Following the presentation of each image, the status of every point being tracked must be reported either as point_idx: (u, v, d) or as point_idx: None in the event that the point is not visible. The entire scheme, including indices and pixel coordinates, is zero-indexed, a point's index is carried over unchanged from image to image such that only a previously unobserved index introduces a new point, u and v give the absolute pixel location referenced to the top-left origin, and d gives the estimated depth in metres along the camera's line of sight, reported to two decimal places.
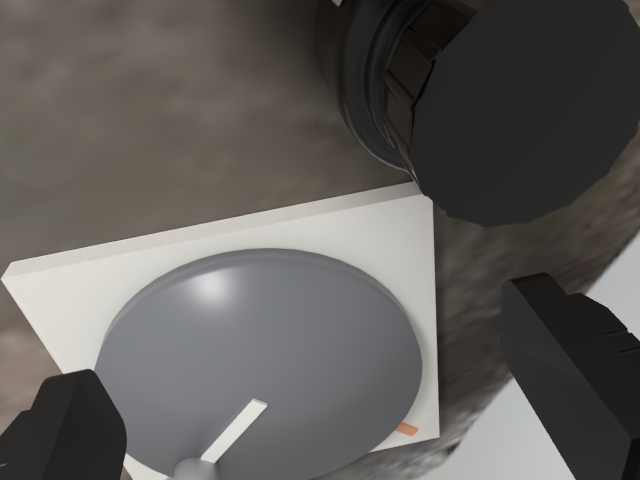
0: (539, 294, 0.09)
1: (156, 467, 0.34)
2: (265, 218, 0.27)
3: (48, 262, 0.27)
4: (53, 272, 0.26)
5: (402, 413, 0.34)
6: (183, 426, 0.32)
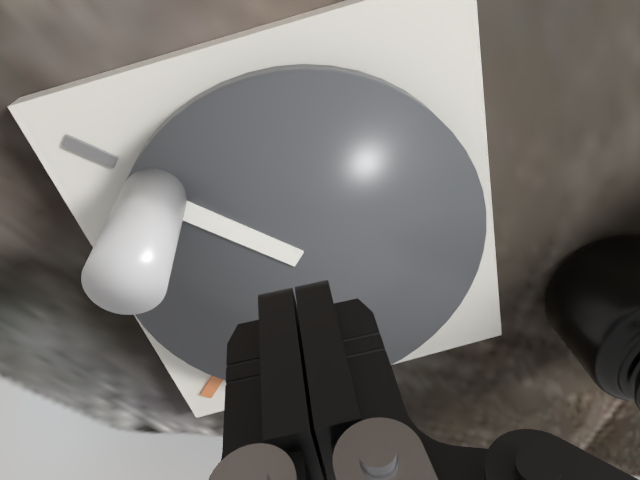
0: (310, 300, 0.10)
1: (159, 144, 0.23)
2: None
3: None
4: (473, 31, 0.24)
5: None
6: (253, 178, 0.25)
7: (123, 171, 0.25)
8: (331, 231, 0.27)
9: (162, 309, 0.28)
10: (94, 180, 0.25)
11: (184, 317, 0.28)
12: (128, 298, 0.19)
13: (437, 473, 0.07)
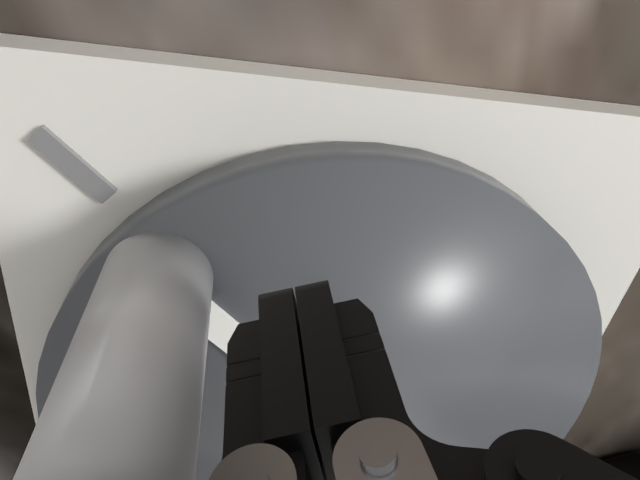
0: (310, 300, 0.10)
1: (206, 206, 0.13)
2: None
3: None
4: None
5: None
6: None
7: (116, 212, 0.15)
8: None
9: None
10: (59, 209, 0.15)
11: None
12: None
13: (437, 473, 0.07)
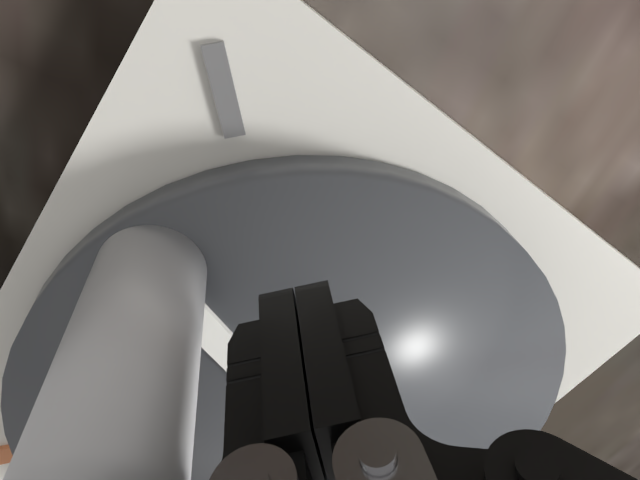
0: (310, 300, 0.10)
1: (211, 205, 0.13)
2: None
3: None
4: (624, 341, 0.21)
5: None
6: None
7: (228, 151, 0.15)
8: None
9: None
10: (177, 123, 0.14)
11: None
12: None
13: (437, 473, 0.07)
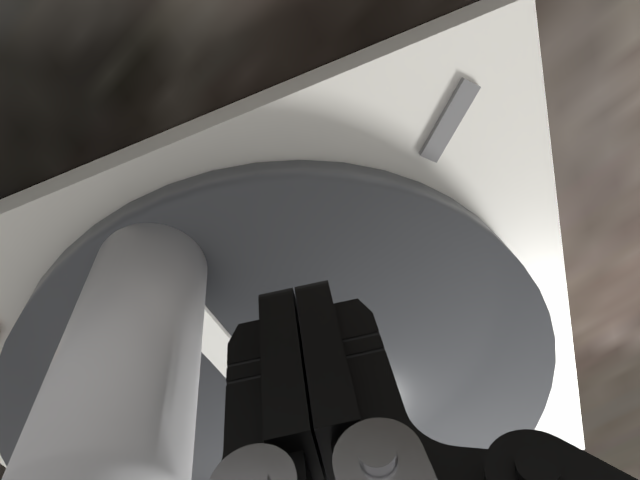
0: (310, 300, 0.10)
1: (215, 206, 0.13)
2: None
3: None
4: None
5: None
6: None
7: (410, 166, 0.16)
8: None
9: None
10: (395, 121, 0.15)
11: None
12: None
13: (437, 473, 0.07)
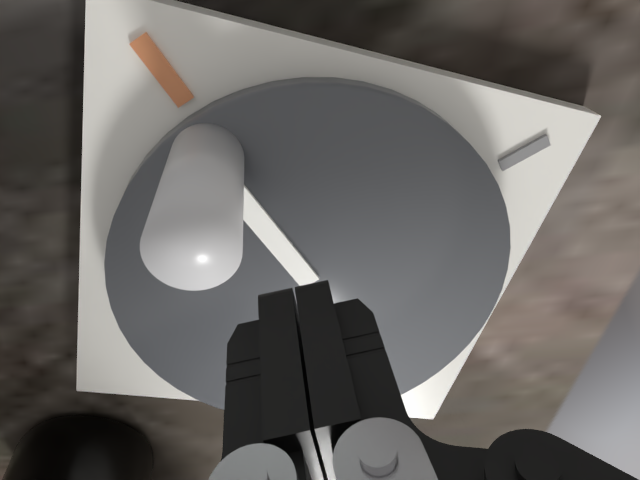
0: (310, 300, 0.10)
1: (247, 108, 0.20)
2: None
3: None
4: None
5: (204, 397, 0.29)
6: (317, 187, 0.22)
7: (488, 164, 0.25)
8: (355, 269, 0.25)
9: (138, 276, 0.24)
10: (501, 134, 0.24)
11: (157, 294, 0.24)
12: (183, 268, 0.15)
13: (437, 473, 0.07)
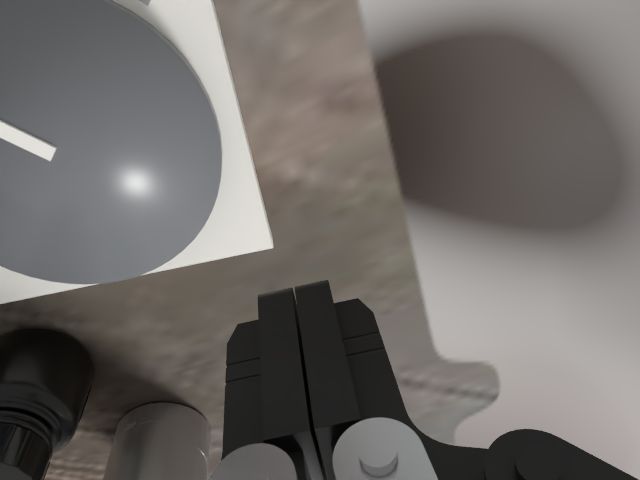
0: (310, 300, 0.10)
1: None
2: None
3: None
4: (239, 252, 0.40)
5: (54, 277, 0.37)
6: None
7: (134, 6, 0.30)
8: (78, 130, 0.31)
9: None
10: None
11: None
12: None
13: (437, 473, 0.07)
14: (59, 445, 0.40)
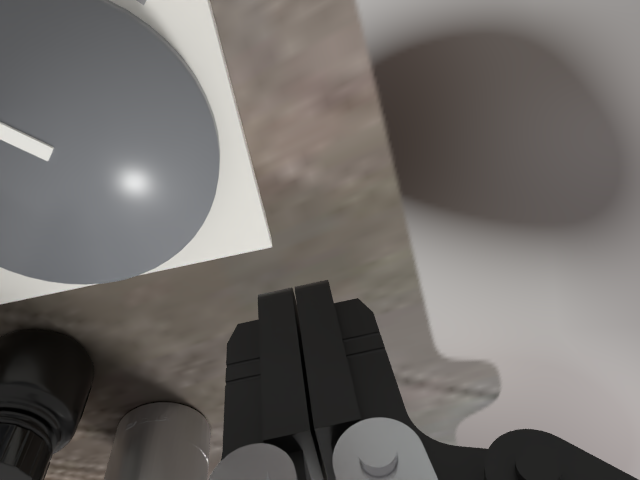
0: (310, 300, 0.10)
1: None
2: None
3: None
4: (238, 251, 0.40)
5: (53, 277, 0.37)
6: None
7: (130, 5, 0.30)
8: (75, 130, 0.31)
9: None
10: None
11: None
12: None
13: (437, 473, 0.07)
14: (59, 445, 0.41)
